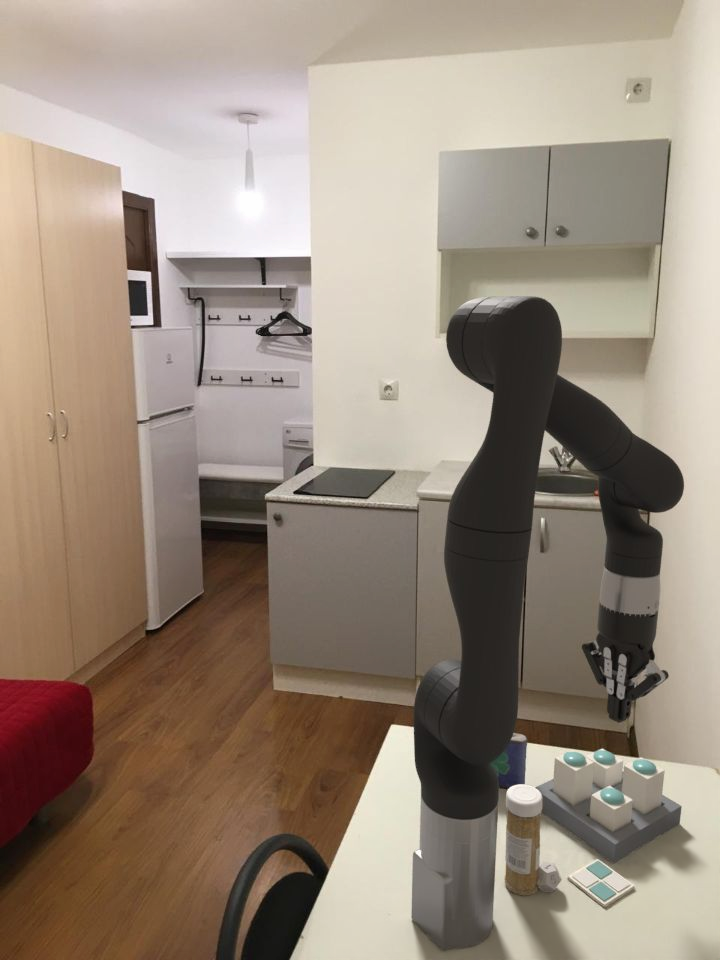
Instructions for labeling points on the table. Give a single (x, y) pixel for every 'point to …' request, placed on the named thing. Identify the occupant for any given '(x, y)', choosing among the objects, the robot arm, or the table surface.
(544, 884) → the game die
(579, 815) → the button board
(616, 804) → the button near right
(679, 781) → the table surface
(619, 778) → the button far left
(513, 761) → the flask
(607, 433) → the robot arm
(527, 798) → the sprinkles bottle
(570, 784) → the button near left
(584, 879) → the card
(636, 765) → the button far right
